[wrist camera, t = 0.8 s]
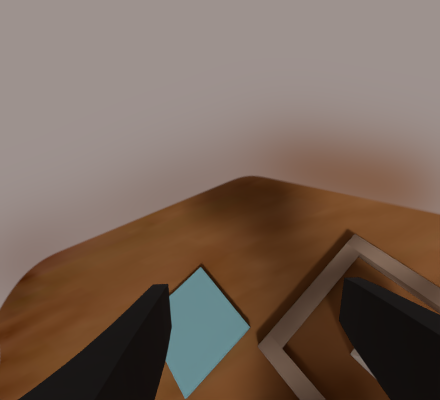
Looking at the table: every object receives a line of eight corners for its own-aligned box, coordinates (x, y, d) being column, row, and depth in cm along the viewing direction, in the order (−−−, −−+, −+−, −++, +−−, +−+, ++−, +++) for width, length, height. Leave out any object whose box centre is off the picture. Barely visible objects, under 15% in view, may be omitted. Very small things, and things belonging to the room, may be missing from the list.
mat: (250, 327, 20) (249, 327, 20) (187, 397, 18) (185, 398, 18) (202, 268, 24) (200, 266, 24) (147, 319, 23) (144, 319, 22)
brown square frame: (560, 373, 14) (577, 375, 14) (462, 603, 11) (477, 624, 10) (351, 237, 23) (354, 233, 22) (258, 345, 19) (257, 346, 18)
